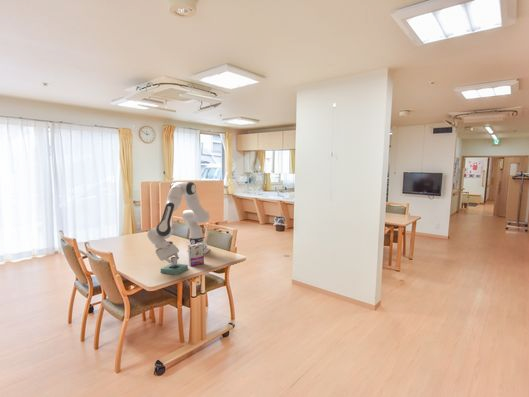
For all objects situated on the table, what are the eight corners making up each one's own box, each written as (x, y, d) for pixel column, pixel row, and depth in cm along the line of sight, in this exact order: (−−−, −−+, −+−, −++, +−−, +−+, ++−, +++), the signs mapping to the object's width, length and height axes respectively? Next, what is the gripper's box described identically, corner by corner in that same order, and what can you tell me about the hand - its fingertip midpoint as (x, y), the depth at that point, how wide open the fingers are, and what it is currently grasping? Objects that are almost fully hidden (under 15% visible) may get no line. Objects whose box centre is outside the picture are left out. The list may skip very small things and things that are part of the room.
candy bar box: (201, 262, 243) (201, 242, 241) (204, 264, 239) (203, 244, 237) (188, 264, 237) (187, 244, 235) (190, 266, 232) (190, 246, 231)
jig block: (171, 266, 232) (171, 263, 231) (187, 268, 228) (187, 264, 227) (160, 272, 218) (160, 268, 218) (177, 274, 214) (177, 270, 214)
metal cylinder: (173, 269, 226) (173, 256, 225) (178, 270, 224) (178, 257, 223) (170, 271, 221) (169, 258, 220) (175, 272, 220) (174, 258, 219)
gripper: (156, 247, 213) (168, 262, 211) (173, 241, 233) (184, 254, 231) (151, 253, 215) (163, 267, 213) (168, 246, 234) (179, 259, 233)
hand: (174, 260), depth 222 cm, fingers open, 8 cm apart
